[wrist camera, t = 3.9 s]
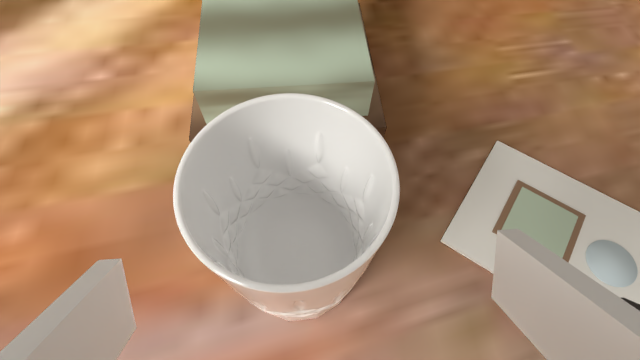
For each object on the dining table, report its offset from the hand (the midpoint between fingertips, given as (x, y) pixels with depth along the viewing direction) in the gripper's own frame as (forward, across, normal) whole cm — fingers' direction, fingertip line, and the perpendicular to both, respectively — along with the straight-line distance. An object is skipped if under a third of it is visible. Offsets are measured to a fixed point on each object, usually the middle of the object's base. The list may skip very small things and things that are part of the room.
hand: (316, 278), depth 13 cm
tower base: (+17, -1, +6) cm, 18 cm away
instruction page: (+8, +15, -3) cm, 18 cm away
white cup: (+8, -1, -4) cm, 9 cm away
